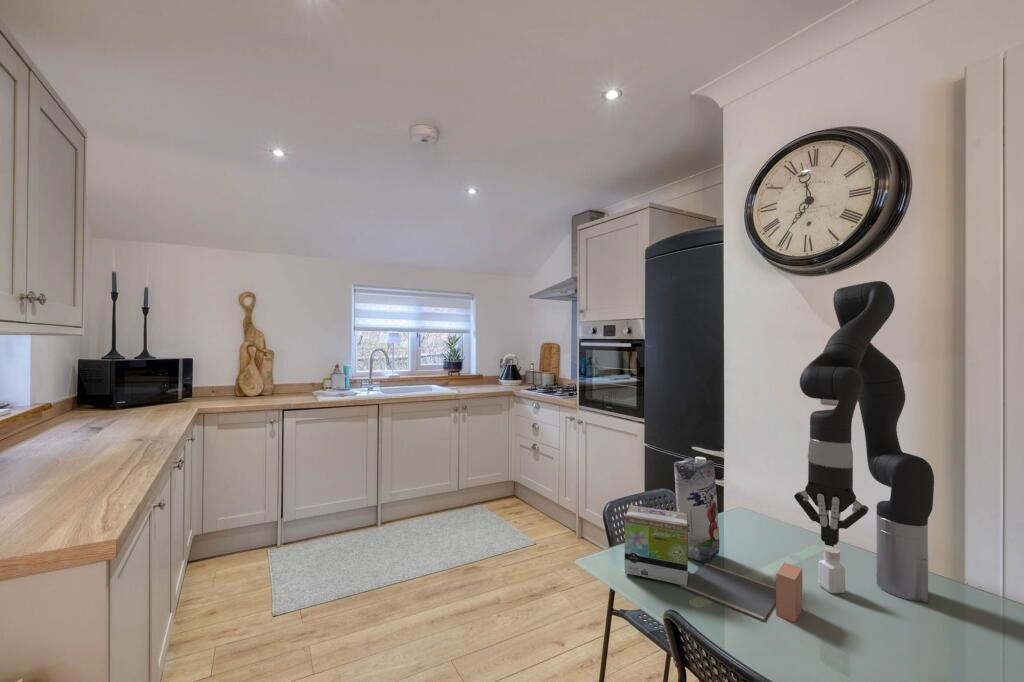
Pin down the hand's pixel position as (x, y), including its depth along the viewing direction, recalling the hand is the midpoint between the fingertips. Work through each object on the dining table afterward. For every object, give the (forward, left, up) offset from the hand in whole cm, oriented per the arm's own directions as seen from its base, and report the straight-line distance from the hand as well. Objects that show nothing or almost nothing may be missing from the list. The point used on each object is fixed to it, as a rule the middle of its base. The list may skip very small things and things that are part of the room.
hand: (829, 544), depth 89 cm
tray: (+19, 0, -17) cm, 26 cm away
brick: (+7, 0, -17) cm, 19 cm away
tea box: (+35, +6, -17) cm, 39 cm away
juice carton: (+31, -12, -17) cm, 37 cm away
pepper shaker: (+2, -18, -17) cm, 25 cm away
